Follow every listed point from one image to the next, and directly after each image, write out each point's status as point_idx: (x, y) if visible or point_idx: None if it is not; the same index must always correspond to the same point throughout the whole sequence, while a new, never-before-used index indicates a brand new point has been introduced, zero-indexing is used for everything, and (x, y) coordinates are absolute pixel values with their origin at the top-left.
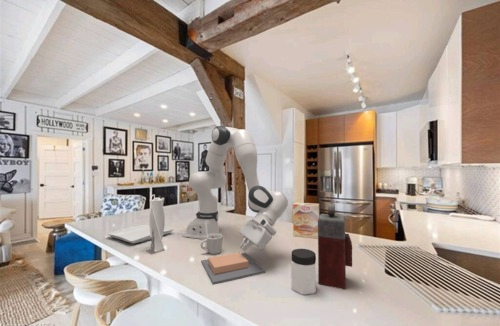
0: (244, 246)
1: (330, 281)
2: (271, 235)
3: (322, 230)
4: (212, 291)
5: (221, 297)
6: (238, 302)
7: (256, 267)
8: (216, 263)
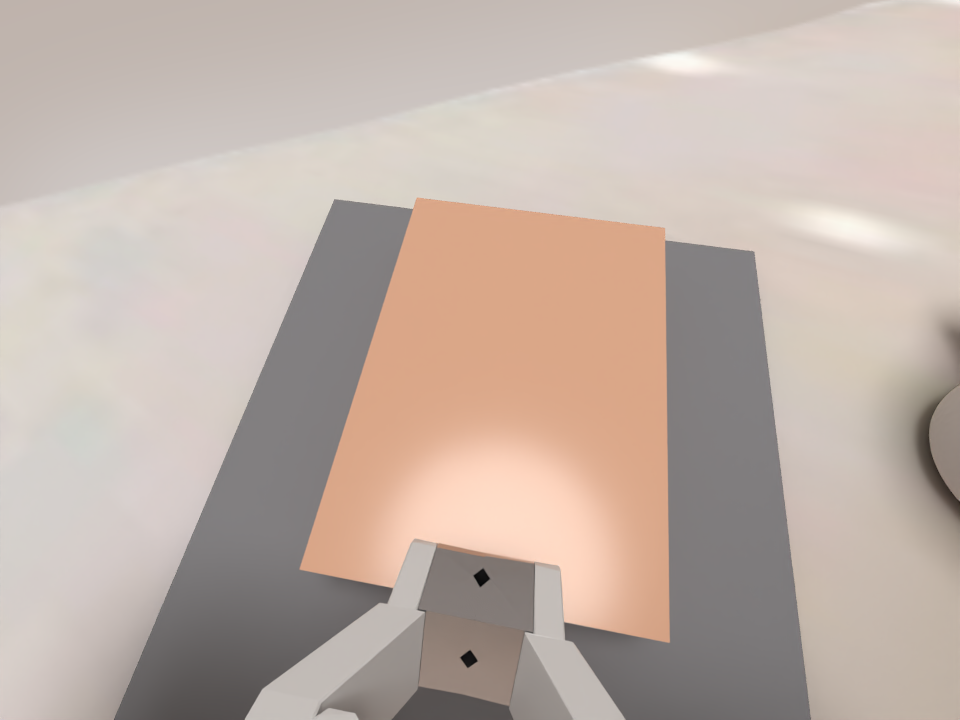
0: (395, 598)
1: None
2: None
3: None
4: (273, 185)
5: (178, 199)
6: (53, 247)
7: (261, 676)
8: (488, 239)
